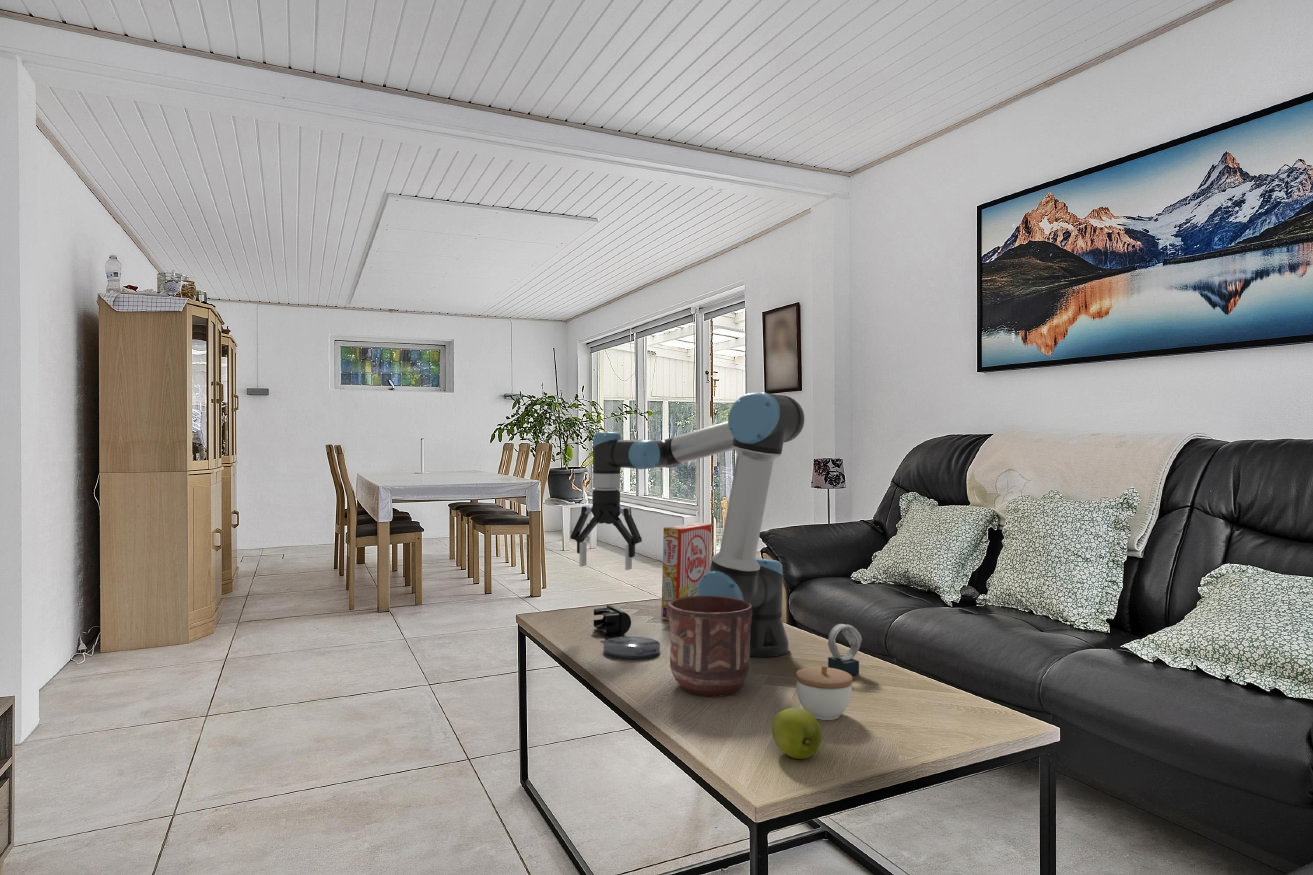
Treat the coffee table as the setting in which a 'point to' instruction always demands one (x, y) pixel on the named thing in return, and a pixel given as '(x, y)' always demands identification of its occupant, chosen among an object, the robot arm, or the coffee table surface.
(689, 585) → the popcorn box
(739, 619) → the pottery
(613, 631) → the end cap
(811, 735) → the green lime
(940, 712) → the coffee table surface
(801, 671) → the lidded jar
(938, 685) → the coffee table surface
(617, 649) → the plate
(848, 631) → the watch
